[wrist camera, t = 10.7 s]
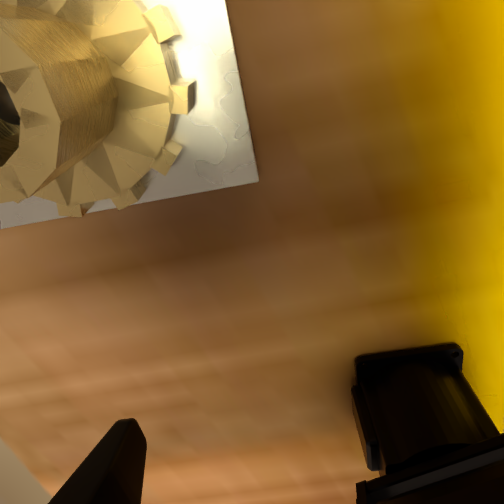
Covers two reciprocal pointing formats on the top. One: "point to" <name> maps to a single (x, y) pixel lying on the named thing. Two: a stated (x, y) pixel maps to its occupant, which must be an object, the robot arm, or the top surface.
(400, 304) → the top surface
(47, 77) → the gear
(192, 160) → the carrier plate
